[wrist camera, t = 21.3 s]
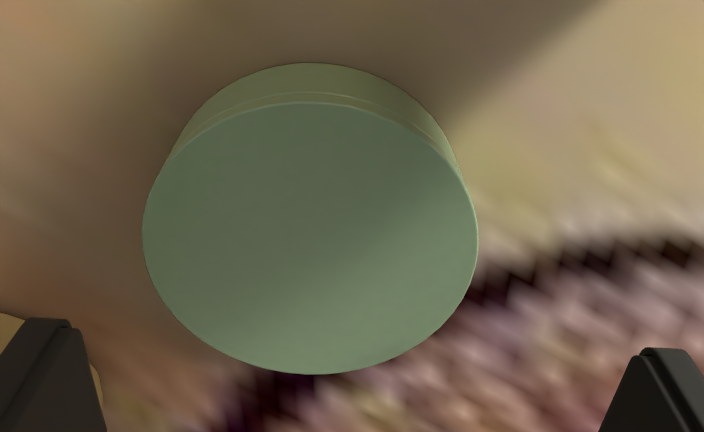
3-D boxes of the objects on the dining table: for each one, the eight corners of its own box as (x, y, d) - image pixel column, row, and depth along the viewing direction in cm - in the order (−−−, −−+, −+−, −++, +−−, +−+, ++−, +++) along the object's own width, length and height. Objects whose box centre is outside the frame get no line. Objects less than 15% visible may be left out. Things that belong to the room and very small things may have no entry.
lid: (144, 274, 16) (115, 336, 14) (197, 13, 12) (169, 45, 10) (395, 336, 17) (402, 400, 15) (511, 120, 14) (541, 167, 12)
